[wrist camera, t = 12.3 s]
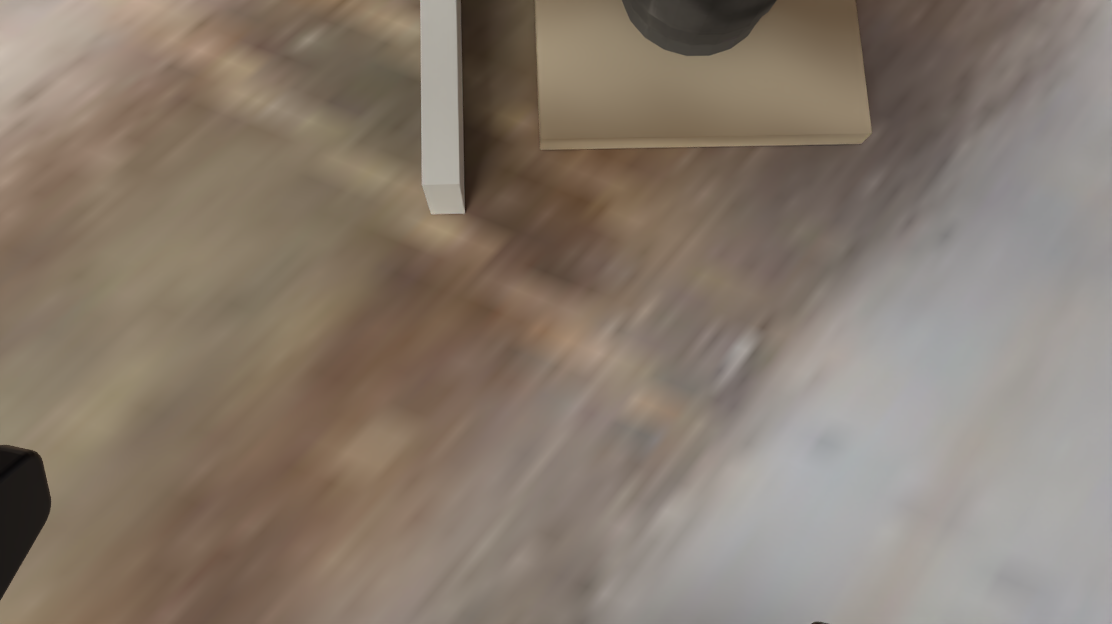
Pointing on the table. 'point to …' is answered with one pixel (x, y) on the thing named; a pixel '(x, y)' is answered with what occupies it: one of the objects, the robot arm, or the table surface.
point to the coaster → (699, 81)
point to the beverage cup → (696, 23)
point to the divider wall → (442, 106)
